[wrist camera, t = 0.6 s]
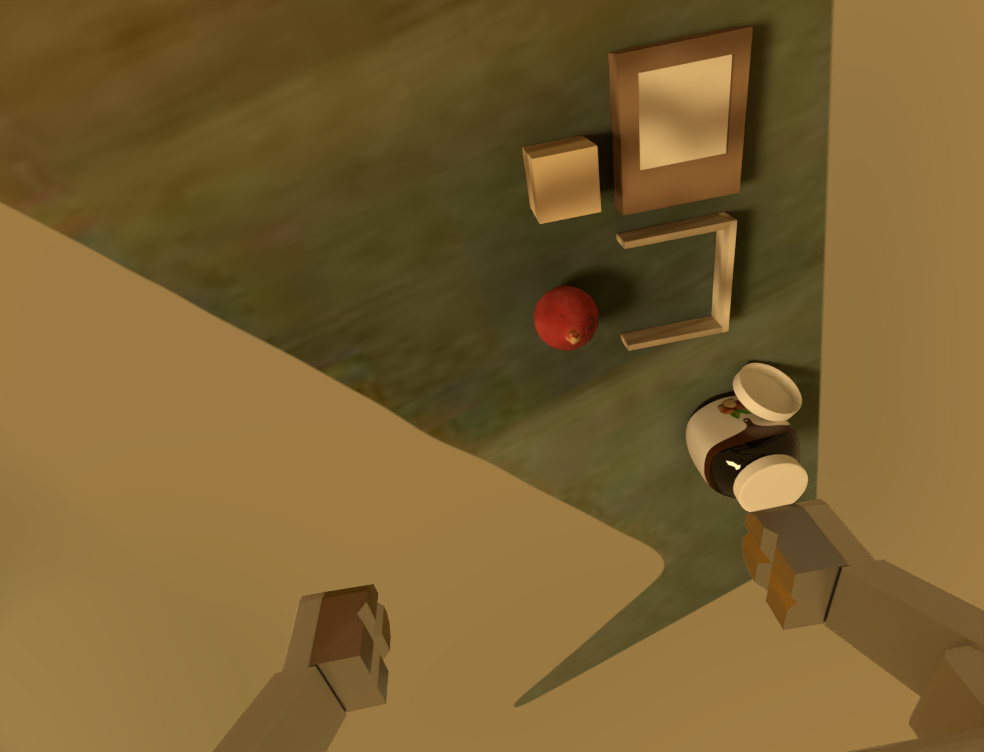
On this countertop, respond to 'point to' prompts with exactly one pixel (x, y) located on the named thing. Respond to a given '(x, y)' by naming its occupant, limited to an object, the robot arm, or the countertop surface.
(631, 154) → the wooden tray
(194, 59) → the countertop surface
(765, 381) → the spread jar
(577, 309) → the onion
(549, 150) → the oak block
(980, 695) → the robot arm
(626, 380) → the countertop surface
